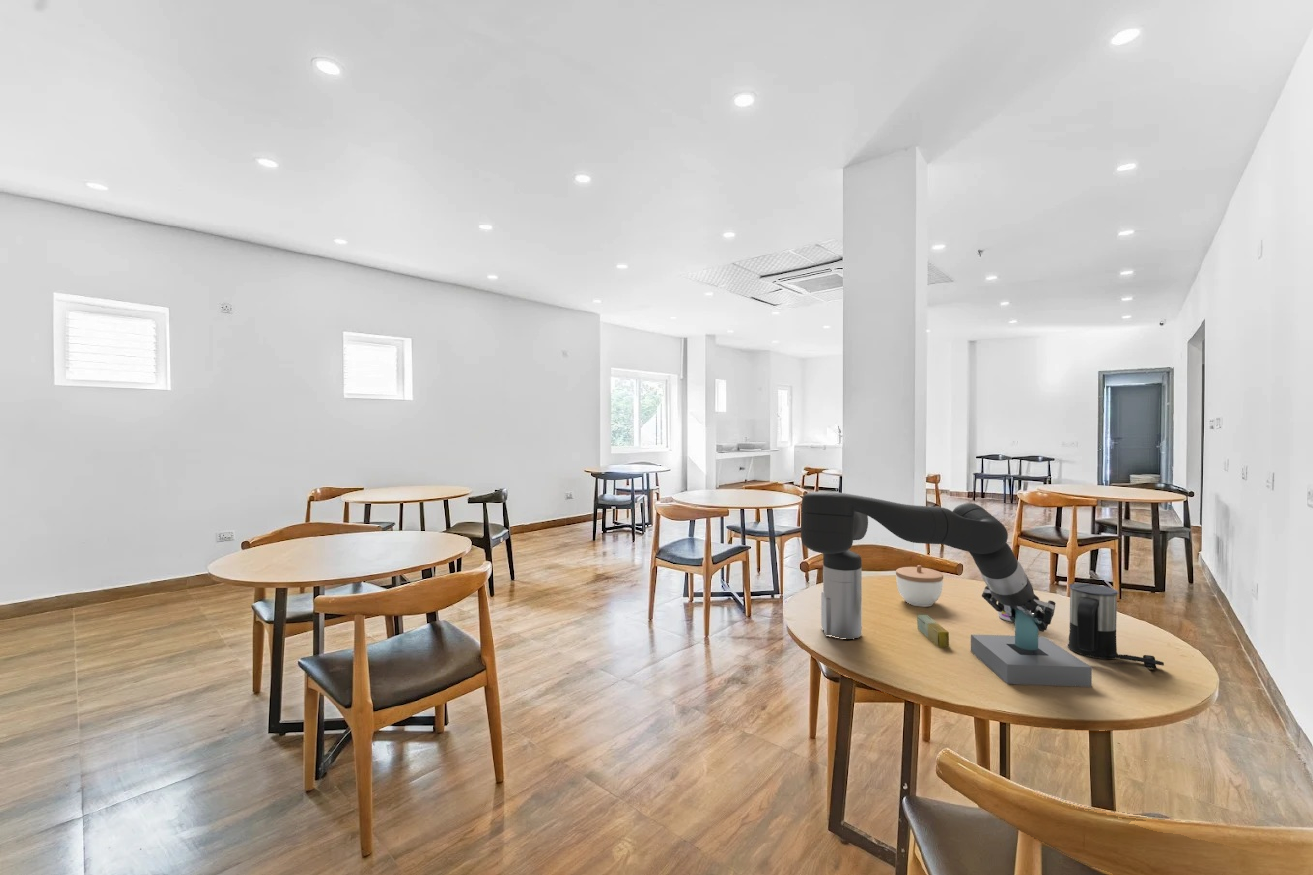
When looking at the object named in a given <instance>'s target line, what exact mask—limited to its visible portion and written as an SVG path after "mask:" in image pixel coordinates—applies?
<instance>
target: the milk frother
mask: <svg viewBox="0 0 1313 875" xmlns="http://www.w3.org/2000/svg"><path fill="white" fill-rule="evenodd" d="M1068 587H1069V593H1070V594H1069V635H1068V643H1067V648H1068V649H1069V650H1071V651H1072V652H1074V653H1077V654H1079V655H1082V656H1086V657H1090V658H1095V659H1101V660H1113V659H1121V660H1127V661H1132V662H1140V663H1143V666H1144V667H1145V668H1147V669H1156V668H1157V665H1158V666H1164V665H1165V663H1164V662H1163V661H1161V660H1157V659H1156V657H1155V656H1154V655H1148V654H1144V655H1142V657H1141V656H1134V655H1129V654H1118V647H1117V616H1118V614H1117V611H1118V608H1117V607H1118V600H1117V599H1118V595H1119V594H1120V593H1119V590H1117V589H1114V588H1112V587H1110V586H1109V587H1108V586H1105V585H1097V584H1094V583H1093V584H1092V583H1086V582H1078V583H1077V582H1075V583H1070V584H1069V585H1068Z"/></svg>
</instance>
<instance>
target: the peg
mask: <svg viewBox="0 0 1313 875" xmlns="http://www.w3.org/2000/svg"><path fill="white" fill-rule="evenodd" d="M1014 625H1015V626H1014V636H1015V645H1016V646H1017V647H1019V648H1022V649H1027V650H1037V649H1038V636H1039V629H1038V627H1037V626H1036V624H1035V621H1034V620H1033V619H1032V618H1029V617H1027V616H1026V615H1025V614H1024V613H1023V612H1022V611H1021V610H1017V609H1015V624H1014Z"/></svg>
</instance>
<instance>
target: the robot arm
mask: <svg viewBox="0 0 1313 875" xmlns="http://www.w3.org/2000/svg"><path fill="white" fill-rule="evenodd" d="M801 501H802V502H801V512H800V513H801V515H800V516H801V517H800V538H801V539H800V540H801V542H802V544H803V546H804V547H805V548H807V549H808V550H811V551H813V552H815V553H819V554H822V557H823V558H822V566H823V567H822V569H823V570H822V572H823V573H822V577H823V578H822V582H823V584H822V586H823V587H822V589H823V591H821V593H820V594H821V596H820V599H821V606H820V607H821V608H820V609H821V610H820V612H821V614H820V615H821V616H820V617H821V619H820V620H821V621H820V623H821V626H822V628H823V630H824V632H825V634H826V635H832V636H835V637H839V638H846V639H853V638H858V637H860V636H861V637H862V635H863V634H862V631H863V630H862V628H863V626H862V624H863V623H862V617H863V616H862V614H863V610H862V605H863V604H862V595H863V594H862V593H863V592H862V585H863V584H862V579H863V578H862V575H863V574H862V570H863V568H862V566H863V565H862V557H861V555H860V554H858V553H857V552H854V551H852V550H850V549H851V548H852V546H853V544H854V541H859V540H862V539H864V537H865V536H866V534H867V531H868V528H869V527H868V526H869V517H870V518H871V519H873V520H875V521H876V522H878V523H879V525H881V526H883V527H884V528H885V529H887V530H888V531H889V532H891V533H892V534H893V535H895V536H896V537H898V538H900V539H902V540H904V541H906V542H910V543H913V544H928V545H929V544H930V545H944V546H948V547H950V548H954V549H957V550H961V551H964V552H967V553H969V554H970V555H971V557H972V559H973V562H974V563H975V565H976V567H977V568H978V570H979V572H980V574H981V577H982V579H983V581H984V583H985V587H984V589H983V591H982V594H981V597H982V598H983V600H985V602H987V603H988V604H989V606H991V607H992V608H993V609H994V610H995V611H997V612H998V613H999V612H1002V611H1004V612H1005V614H1006V615H1008V616H1009V618H1010V619H1011V621H1013V622H1012V623H1014V625H1015V609H1017V610H1021V611H1022V612H1023V613H1024V614H1025V615H1026V616H1027V617H1029V618H1032V619H1033V620H1034V621H1035V624H1036V626H1037V627H1038V632H1040V633H1041V632H1043V633H1044V632H1045V631H1047V629H1048V626H1049V625H1051V623H1052V619H1053V618H1054V615H1055V609H1056V602H1055V601H1054V600H1048V601H1043V600H1040V597H1038V596H1037V594H1035V592H1034V587H1033V585H1032V583H1031V580H1030V579H1029V577H1028V576H1027V573H1026V571H1025V569H1024V568H1023V566H1022V564H1021V563H1020V561H1019V560H1018V559H1017V558H1016V555H1015V553H1014V552H1013V550H1012V548H1011V546H1010V545H1009V544H1008V543H1007V541H1008V538H1009V534H1008V533H1009V532H1008V530H1007V528H1006V526H1005V525H1004V524H1003V523H1002V522H1001V521H1000V520H999V519H997V518H996V517H994V515H992V513H989V512H988V511H987V510H986V509H985V508H983V507H982V506H980V505H979V504H976V503H974V502H973V503H972V502H965V503H961V504H959V505H957V506H955V507H954V509H953V510H951V509H948V508H946V507H941V506H940V507H939V506H927V505H914V504H913V505H912V504H905V503H898V502H894V501H889V500H884V499H880V498H879V499H878V498H874V497H870V496H869V497H867V496H863V495H857V494H851V493H844V492H837V491H826V490H825V491H821V490H818V491H811V492H807V493H806V494H804V495H803V497H802V500H801ZM822 628H821V629H822ZM823 630H822V631H823ZM824 632H823V633H824ZM825 634H824V635H825ZM861 634H862V635H861ZM861 637H860V638H861ZM858 639H859V638H858ZM853 640H854V639H853Z"/></svg>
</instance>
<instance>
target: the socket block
mask: <svg viewBox="0 0 1313 875" xmlns="http://www.w3.org/2000/svg"><path fill="white" fill-rule="evenodd" d="M970 652H971V653H972V654H973V655H974V656H975V657H976V658H977V659H979V660H980V662H982V663H983V664H984V665H985V666H987V667H988V669H990V670H991V671H992V672H994V674H995V675H996V676H998V677H999V679H1001V680H1002V681H1003V682H1004V683H1006V684H1007V685H1030V686H1033V685H1034V686H1053V687H1054V686H1056V687H1057V686H1058V687H1059V686H1060V687H1062V686H1063V687H1084V688H1085V687H1086V688H1087V687H1089V688H1092V686H1093V685H1092V682H1093V681H1092V679H1093V678H1092V677H1093V670H1092V668H1093V666H1090V664H1087V663H1086V662H1085V661H1083V660H1082V659H1079V658H1078V657H1077V656H1076V655H1073V653H1070V652H1069V651H1068V650H1066V649H1065V648H1063V647H1061V646H1060V645H1058V644H1056V643H1055V641H1052V640H1050V639H1049V638H1047V637H1046V636H1040V635H1038V649H1037V650H1027V649H1022V648H1019V647H1017V646H1016V645H1015V635H1005V634H1003V635H1002V634H1000V635H999V634H970Z"/></svg>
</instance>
